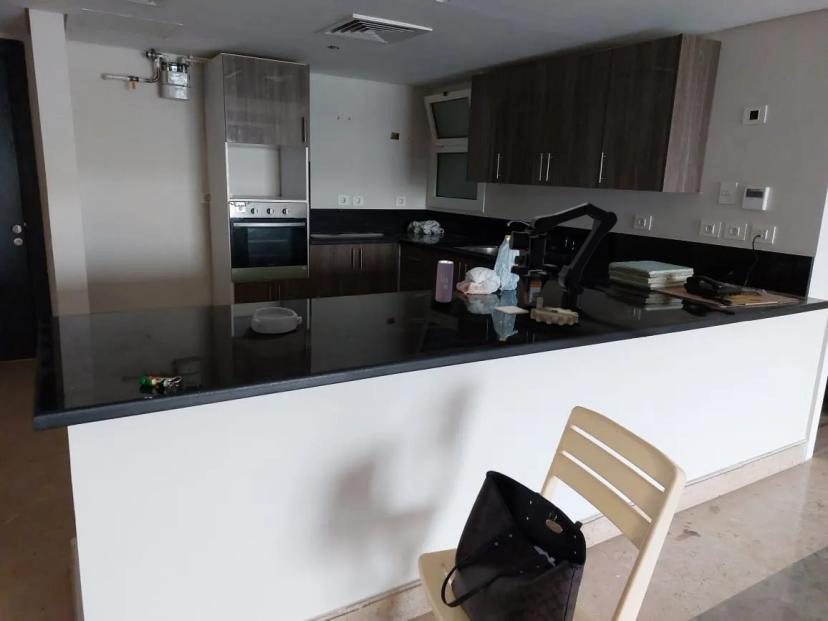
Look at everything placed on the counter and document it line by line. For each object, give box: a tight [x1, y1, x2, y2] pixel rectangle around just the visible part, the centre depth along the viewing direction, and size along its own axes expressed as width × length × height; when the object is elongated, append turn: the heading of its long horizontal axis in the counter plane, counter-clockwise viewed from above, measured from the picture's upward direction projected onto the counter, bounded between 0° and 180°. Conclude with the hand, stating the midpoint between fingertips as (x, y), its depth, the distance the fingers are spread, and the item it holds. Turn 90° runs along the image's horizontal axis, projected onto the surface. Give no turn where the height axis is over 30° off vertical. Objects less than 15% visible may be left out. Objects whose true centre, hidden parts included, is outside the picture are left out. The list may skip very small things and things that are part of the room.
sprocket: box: [530, 296, 579, 326], centre depth 196 cm, size 16×16×7 cm
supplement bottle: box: [523, 273, 542, 307], centre depth 215 cm, size 6×6×11 cm
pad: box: [493, 305, 529, 315], centre depth 208 cm, size 9×9×1 cm
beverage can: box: [435, 260, 454, 303], centre depth 216 cm, size 6×6×15 cm
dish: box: [250, 306, 303, 334], centre depth 168 cm, size 14×14×5 cm
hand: (532, 292), depth 215 cm, fingers closed on supplement bottle, 6 cm apart
